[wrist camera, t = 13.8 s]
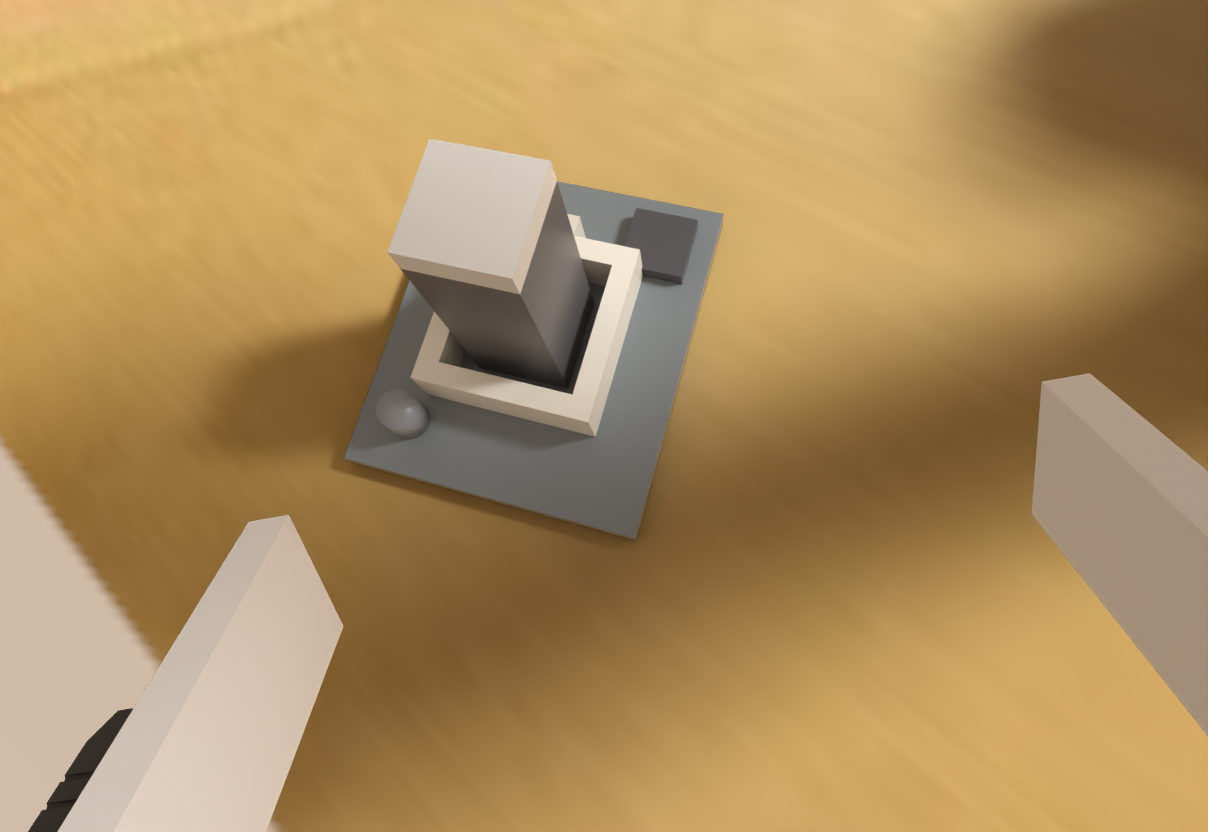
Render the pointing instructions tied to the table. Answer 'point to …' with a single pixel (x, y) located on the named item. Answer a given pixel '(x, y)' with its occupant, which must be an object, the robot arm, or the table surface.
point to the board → (548, 412)
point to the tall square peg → (496, 259)
